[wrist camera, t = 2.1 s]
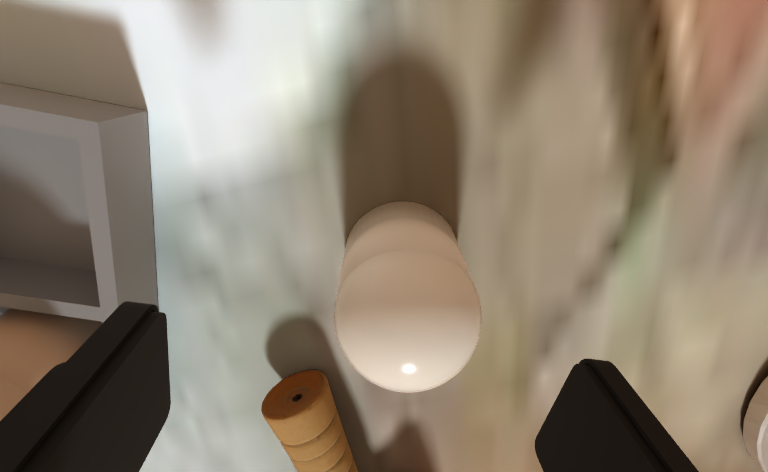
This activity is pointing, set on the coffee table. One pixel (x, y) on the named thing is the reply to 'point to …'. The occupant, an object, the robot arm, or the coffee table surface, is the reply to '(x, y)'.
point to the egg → (406, 299)
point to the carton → (68, 227)
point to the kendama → (308, 423)
